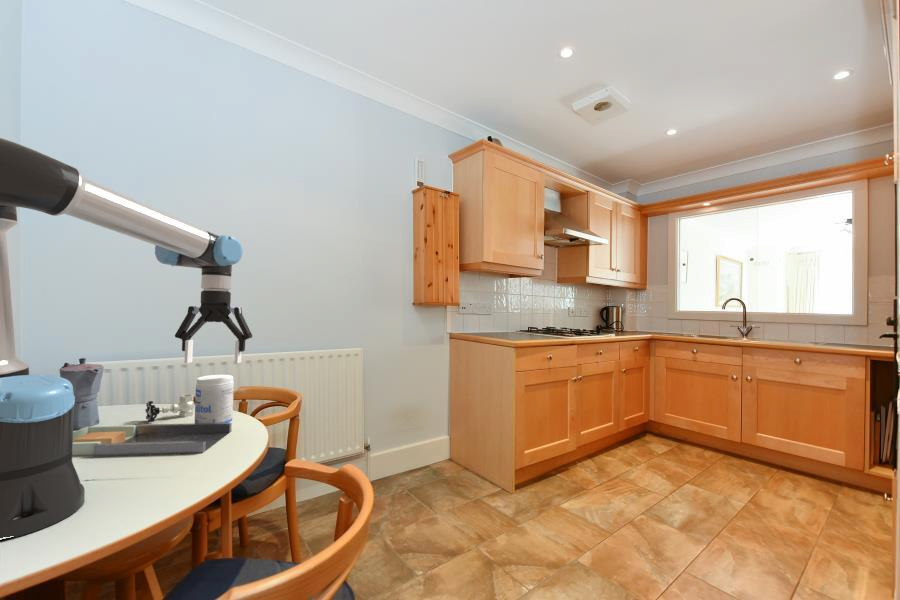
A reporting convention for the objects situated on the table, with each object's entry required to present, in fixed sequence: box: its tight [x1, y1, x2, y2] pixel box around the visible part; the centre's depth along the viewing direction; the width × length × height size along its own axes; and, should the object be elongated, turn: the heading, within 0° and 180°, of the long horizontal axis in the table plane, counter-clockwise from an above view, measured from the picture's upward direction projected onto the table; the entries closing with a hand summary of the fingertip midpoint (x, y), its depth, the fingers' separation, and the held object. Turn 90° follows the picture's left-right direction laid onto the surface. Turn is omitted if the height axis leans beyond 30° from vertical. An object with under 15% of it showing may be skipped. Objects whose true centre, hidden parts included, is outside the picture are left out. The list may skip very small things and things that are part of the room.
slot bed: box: [92, 422, 233, 458], centre depth 98 cm, size 16×24×3 cm, turn 97°
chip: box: [74, 432, 107, 442], centre depth 96 cm, size 5×4×2 cm
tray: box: [72, 424, 137, 456], centre depth 96 cm, size 13×12×3 cm
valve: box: [144, 393, 195, 423], centre depth 119 cm, size 7×7×12 cm
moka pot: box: [59, 357, 105, 432], centre depth 111 cm, size 10×15×20 cm, turn 79°
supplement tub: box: [194, 374, 235, 424], centre depth 112 cm, size 10×10×15 cm
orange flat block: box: [93, 431, 126, 444], centre depth 96 cm, size 5×4×2 cm
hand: (213, 362), depth 111 cm, fingers open, 13 cm apart
